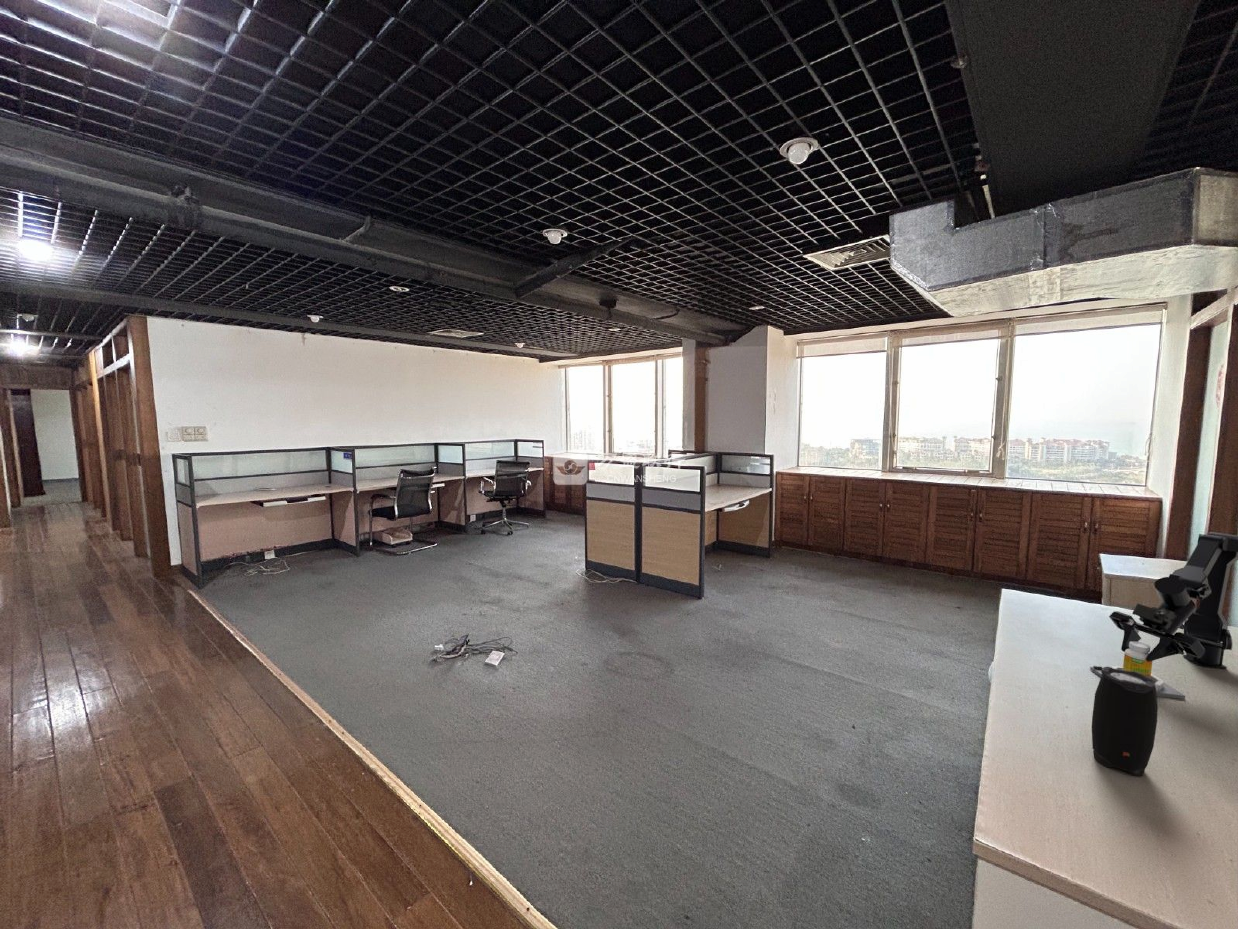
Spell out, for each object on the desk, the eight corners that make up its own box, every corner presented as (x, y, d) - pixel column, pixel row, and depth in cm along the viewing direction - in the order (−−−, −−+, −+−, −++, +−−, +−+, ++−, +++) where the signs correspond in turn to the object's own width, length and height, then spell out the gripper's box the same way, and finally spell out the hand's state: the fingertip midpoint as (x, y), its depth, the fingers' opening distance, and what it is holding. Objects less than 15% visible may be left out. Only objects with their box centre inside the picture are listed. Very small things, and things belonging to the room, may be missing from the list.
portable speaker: (1143, 785, 99) (1154, 691, 97) (1081, 758, 107) (1091, 670, 105) (1155, 769, 104) (1166, 679, 102) (1095, 744, 112) (1104, 660, 110)
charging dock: (1149, 676, 142) (1150, 668, 142) (1184, 699, 130) (1186, 690, 130) (1090, 669, 146) (1091, 661, 145) (1119, 691, 134) (1120, 682, 134)
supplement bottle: (1126, 680, 137) (1130, 646, 136) (1118, 671, 142) (1122, 638, 141) (1154, 685, 134) (1158, 650, 133) (1144, 676, 139) (1148, 642, 138)
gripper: (1117, 583, 145) (1082, 622, 145) (1201, 608, 127) (1162, 653, 126) (1136, 608, 148) (1102, 647, 147) (1222, 635, 129) (1183, 680, 128)
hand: (1134, 655), depth 137 cm, fingers closed on supplement bottle, 5 cm apart
